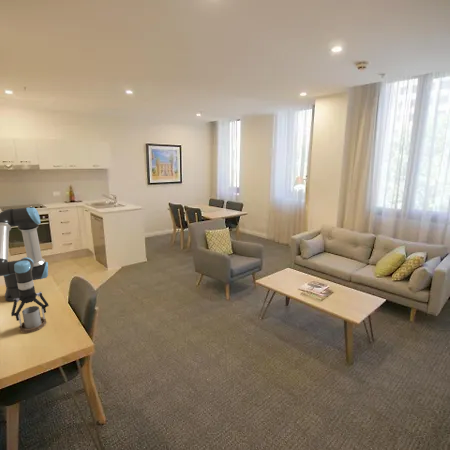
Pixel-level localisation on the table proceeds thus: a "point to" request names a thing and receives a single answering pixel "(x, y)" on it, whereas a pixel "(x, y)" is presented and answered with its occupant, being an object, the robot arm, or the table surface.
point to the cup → (31, 317)
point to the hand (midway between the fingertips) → (32, 321)
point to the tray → (33, 328)
